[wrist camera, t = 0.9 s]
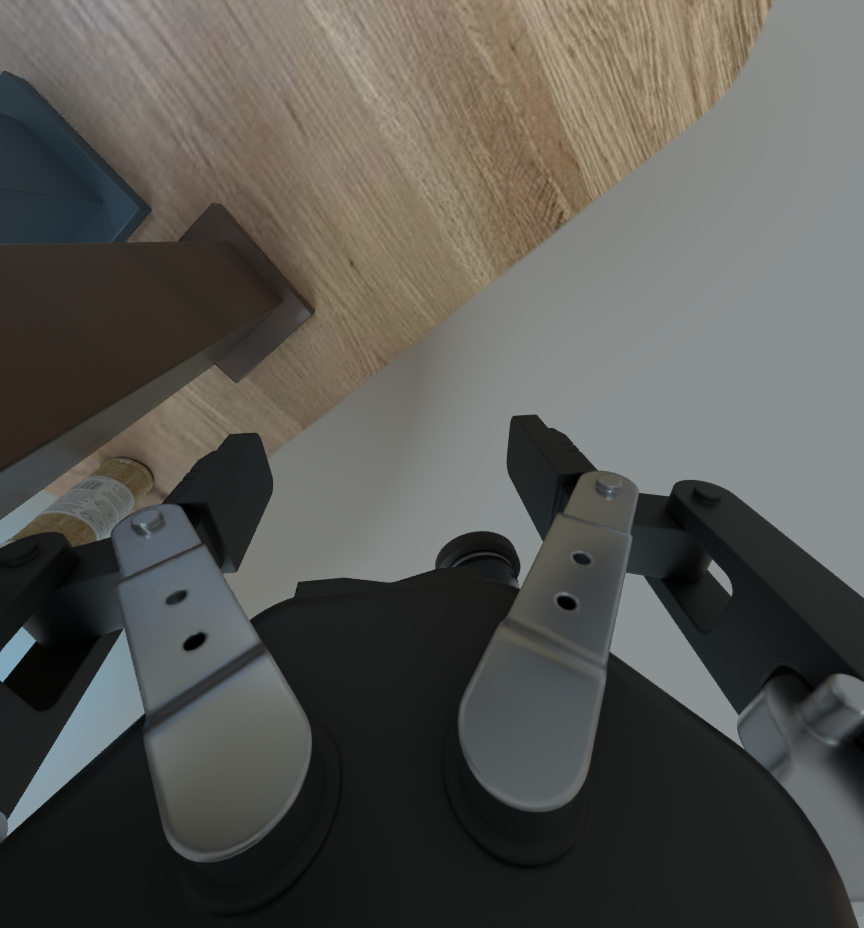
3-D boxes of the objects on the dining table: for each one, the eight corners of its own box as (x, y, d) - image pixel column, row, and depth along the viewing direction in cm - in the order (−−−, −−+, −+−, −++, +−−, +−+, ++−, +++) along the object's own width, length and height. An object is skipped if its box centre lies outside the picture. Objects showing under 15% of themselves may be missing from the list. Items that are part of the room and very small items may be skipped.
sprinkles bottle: (107, 490, 37) (-20, 603, 25) (98, 451, 34) (-45, 556, 23) (158, 497, 38) (59, 608, 26) (153, 459, 35) (42, 563, 24)
